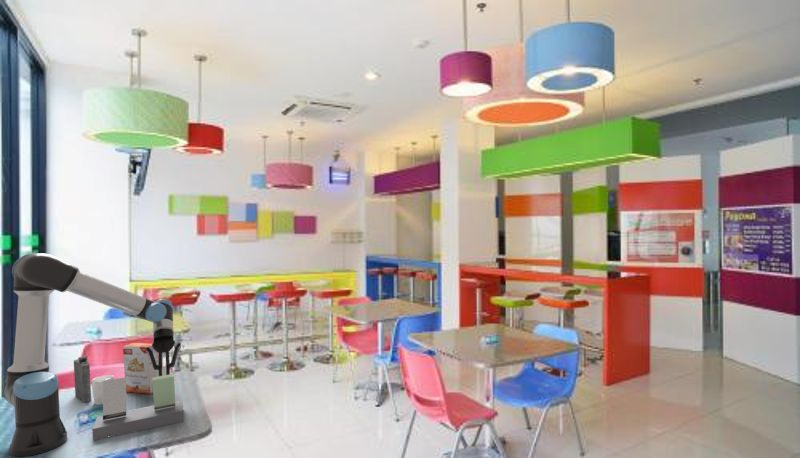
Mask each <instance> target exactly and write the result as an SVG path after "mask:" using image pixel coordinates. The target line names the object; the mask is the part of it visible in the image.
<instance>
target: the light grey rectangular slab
mask: <svg viewBox="0 0 800 458" xmlns="http://www.w3.org/2000/svg"><path fill="white" fill-rule="evenodd" d="M126 411H127V392H126V377H125V376H124V377H119V378H114V379H113V380H107V381H103V404H102V415H103V420H107V419H112V418H117V417H122V416H126Z"/></svg>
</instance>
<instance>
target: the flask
mask: <svg viewBox="0 0 800 458" xmlns="http://www.w3.org/2000/svg"><path fill="white" fill-rule="evenodd" d="M90 368H91V367H90V362H89V361H88V356H87V355H82V356H79V357H78V359H74V360H73V375H74V376H73V377H74V392H75V393H74V394H75V397H76V398H79V399H80V400H82V403H85V404H86V403H87V404H88V403H91V401H92V384H91V369H90Z"/></svg>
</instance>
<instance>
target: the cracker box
mask: <svg viewBox="0 0 800 458" xmlns="http://www.w3.org/2000/svg"><path fill="white" fill-rule="evenodd" d="M152 344H153V343H145V342H131V343H129V344H125V345H123V346H122V347H123V348H122V350H123V352H122V353H123V354H122V355H123V368H124V369H123V370H124V373H123V374H124V378H125V377H126V393H134V394H135V393H136V394H147V395H151V394H153V383H152V378H153V377H159V370H154V368H153V365H152V362H151V359H150V356H149V354H148V353H147V352H146V348H147V347H151V346H152ZM153 355H154V358H155V361H156V364H157V365H159V353H158V352H157V351H155V350H154V349H153Z"/></svg>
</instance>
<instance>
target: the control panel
mask: <svg viewBox="0 0 800 458" xmlns="http://www.w3.org/2000/svg"><path fill="white" fill-rule="evenodd" d="M184 421H185V417H184V403H183V399H180V400H179V399H178V400H175V406H172V407H167V408H162V409H157V410H154V404H153V405H150V406H145V407H139V408H134V409H128V410H126V416H122V417H117V418H112V419H107V420H103V414H102V415H97V416H96V419H95V421H94V424H93V426H92V432H91V433H92V441H93V440H94V441H98V440H97V439H99V440H102V439H101V438H103V439H106V438H105V437H108V436H113V435H117V436H121V435H120V434H122V435H126V434H125V433H127V434H131V433H134V431H136V432H140V431H145V430H148V429H149V430H150V429H155V428H158V427H162V426H163V427H164V426H169V425H172V424H177V423H182V422H184ZM130 432H131V433H130ZM113 437H114V436H113ZM108 438H109V437H108Z"/></svg>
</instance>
